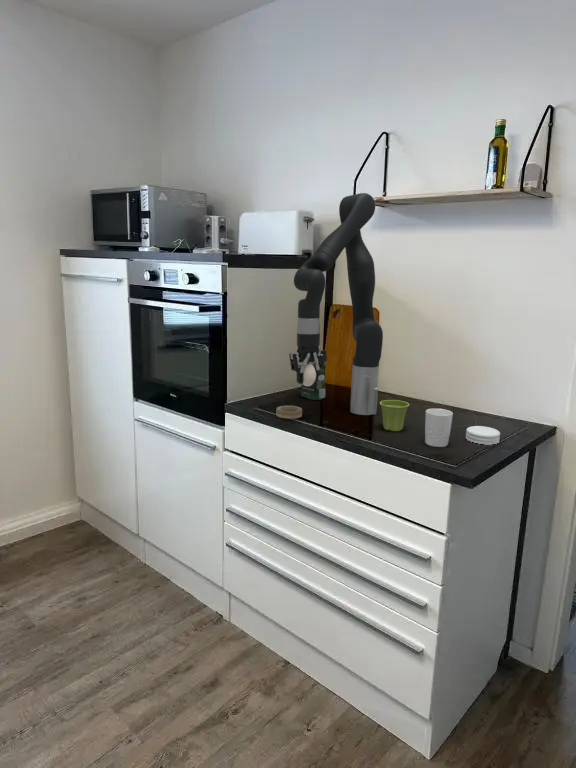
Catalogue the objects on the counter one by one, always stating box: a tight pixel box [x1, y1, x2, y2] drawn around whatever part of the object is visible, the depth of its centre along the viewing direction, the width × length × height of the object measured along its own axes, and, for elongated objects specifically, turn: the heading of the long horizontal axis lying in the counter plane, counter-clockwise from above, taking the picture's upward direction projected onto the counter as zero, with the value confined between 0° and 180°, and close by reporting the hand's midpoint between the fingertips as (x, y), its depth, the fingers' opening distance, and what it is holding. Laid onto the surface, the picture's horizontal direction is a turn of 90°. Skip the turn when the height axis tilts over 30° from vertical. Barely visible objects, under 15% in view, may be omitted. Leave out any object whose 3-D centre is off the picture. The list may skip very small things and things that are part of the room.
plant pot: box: [379, 399, 410, 432], centre depth 184 cm, size 9×9×9 cm
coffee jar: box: [300, 355, 328, 401], centre depth 221 cm, size 10×8×19 cm
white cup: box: [424, 408, 454, 448], centre depth 170 cm, size 8×8×10 cm
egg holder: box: [275, 405, 303, 420], centre depth 197 cm, size 9×9×2 cm
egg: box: [302, 363, 316, 386], centre depth 187 cm, size 6×6×8 cm
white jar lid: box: [465, 425, 501, 446], centre depth 176 cm, size 10×10×4 cm
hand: (307, 382), depth 187 cm, fingers closed on egg, 5 cm apart
